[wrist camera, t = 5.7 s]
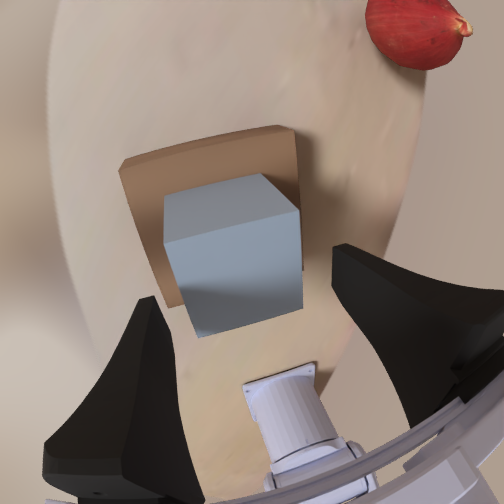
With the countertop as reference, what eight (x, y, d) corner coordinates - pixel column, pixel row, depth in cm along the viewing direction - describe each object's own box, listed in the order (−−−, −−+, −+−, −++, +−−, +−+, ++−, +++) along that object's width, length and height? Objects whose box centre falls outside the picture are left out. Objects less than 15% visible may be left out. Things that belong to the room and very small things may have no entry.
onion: (326, -1, 12) (415, -31, 6) (387, -10, 12) (474, -24, 5) (360, 76, 15) (456, 87, 9) (414, 58, 15) (503, 69, 9)
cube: (270, 253, 17) (303, 308, 13) (187, 275, 17) (197, 338, 13) (260, 173, 15) (299, 210, 11) (164, 195, 14) (163, 244, 10)
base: (287, 247, 21) (303, 270, 19) (166, 280, 20) (168, 308, 18) (274, 123, 16) (294, 130, 14) (126, 157, 15) (118, 170, 13)
